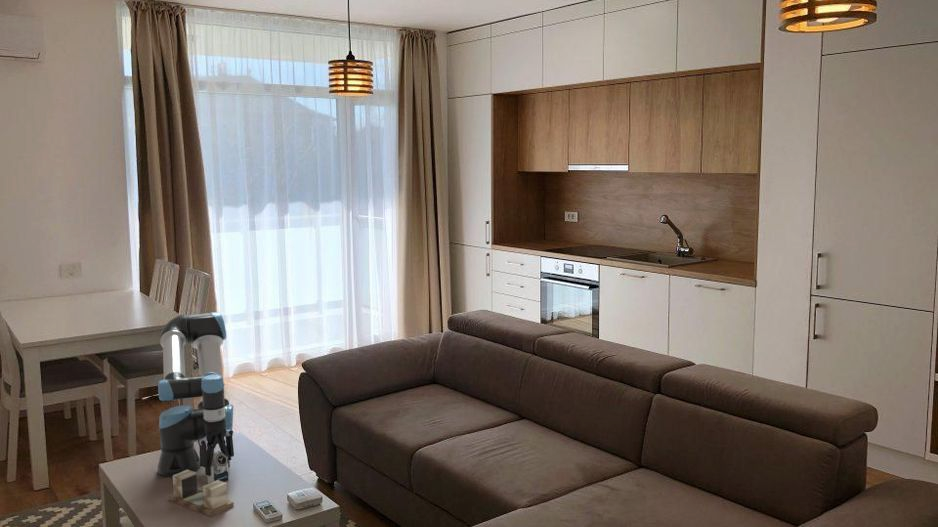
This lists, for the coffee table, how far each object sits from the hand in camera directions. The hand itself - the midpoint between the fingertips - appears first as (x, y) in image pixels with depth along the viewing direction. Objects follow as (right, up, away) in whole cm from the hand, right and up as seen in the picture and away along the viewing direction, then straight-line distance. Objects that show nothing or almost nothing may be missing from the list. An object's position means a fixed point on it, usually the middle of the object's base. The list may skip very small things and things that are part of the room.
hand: (218, 480), depth 282 cm
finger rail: (0, -3, -18) cm, 18 cm away
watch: (0, -1, 0) cm, 1 cm away
